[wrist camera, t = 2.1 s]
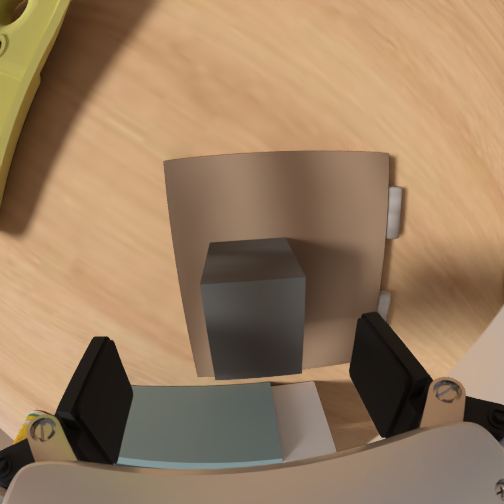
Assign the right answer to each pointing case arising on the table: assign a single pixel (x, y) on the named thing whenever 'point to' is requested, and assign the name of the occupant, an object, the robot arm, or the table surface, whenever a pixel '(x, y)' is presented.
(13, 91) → the plastic component
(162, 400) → the cabinet
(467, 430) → the robot arm
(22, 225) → the table surface
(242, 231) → the door
